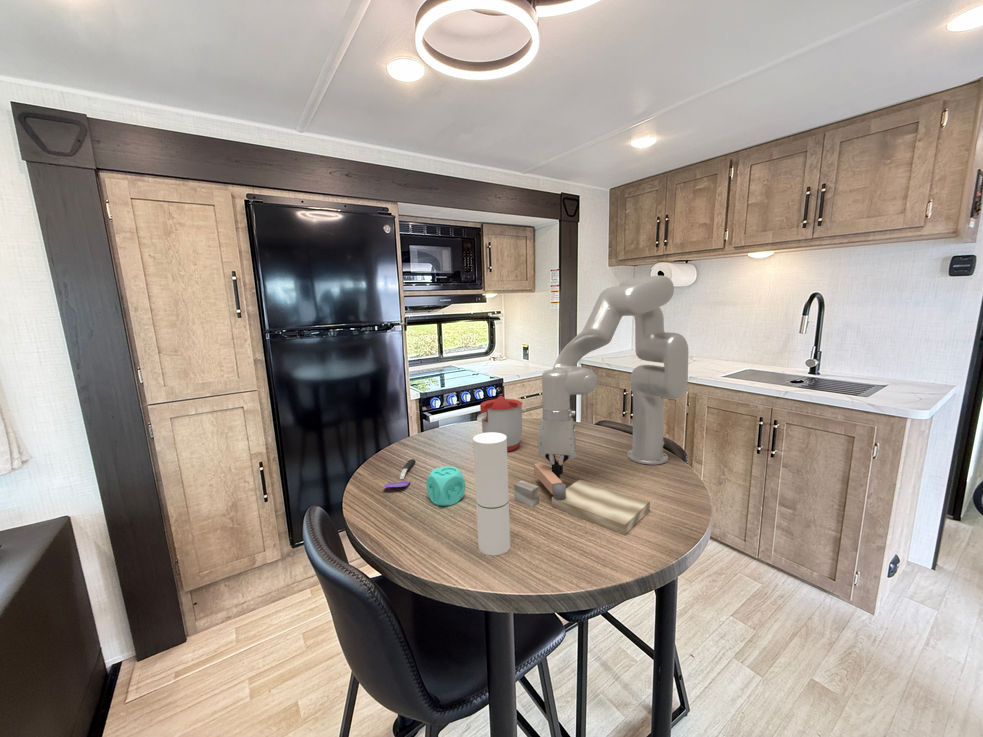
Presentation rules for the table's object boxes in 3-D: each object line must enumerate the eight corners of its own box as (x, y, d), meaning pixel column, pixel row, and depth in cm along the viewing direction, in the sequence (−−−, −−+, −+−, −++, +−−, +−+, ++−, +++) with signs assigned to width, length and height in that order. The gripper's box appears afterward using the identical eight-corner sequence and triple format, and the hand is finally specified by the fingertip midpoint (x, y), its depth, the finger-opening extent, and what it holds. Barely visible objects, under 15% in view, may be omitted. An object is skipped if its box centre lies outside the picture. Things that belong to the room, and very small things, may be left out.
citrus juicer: (471, 445, 150) (469, 394, 147) (511, 437, 157) (509, 389, 154) (488, 459, 136) (486, 403, 133) (531, 449, 143) (530, 396, 140)
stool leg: (568, 498, 101) (567, 487, 100) (556, 500, 100) (556, 489, 99) (543, 471, 117) (543, 462, 117) (533, 473, 116) (533, 463, 116)
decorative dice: (426, 499, 109) (424, 472, 108) (450, 489, 114) (448, 463, 113) (442, 509, 103) (440, 481, 102) (466, 499, 108) (465, 472, 107)
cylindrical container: (509, 535, 90) (505, 431, 86) (511, 554, 83) (507, 442, 79) (478, 537, 90) (473, 433, 86) (478, 556, 83) (472, 444, 79)
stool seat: (551, 478, 119) (551, 464, 118) (649, 510, 98) (649, 493, 98) (514, 499, 107) (514, 484, 106) (618, 541, 86) (618, 522, 85)
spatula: (404, 462, 137) (403, 455, 137) (423, 461, 137) (422, 455, 137) (382, 494, 114) (381, 486, 113) (405, 494, 113) (404, 486, 113)
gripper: (584, 411, 110) (585, 472, 113) (532, 409, 114) (534, 468, 117) (582, 419, 103) (583, 484, 106) (527, 417, 107) (529, 479, 110)
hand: (557, 476), depth 112 cm, fingers closed
